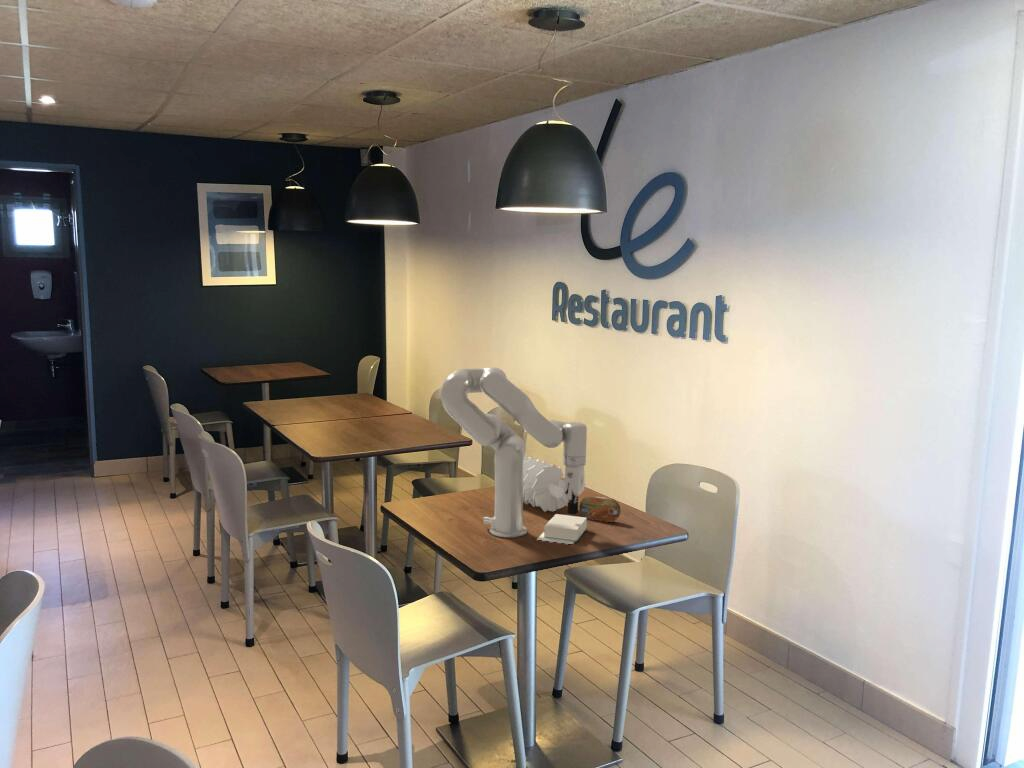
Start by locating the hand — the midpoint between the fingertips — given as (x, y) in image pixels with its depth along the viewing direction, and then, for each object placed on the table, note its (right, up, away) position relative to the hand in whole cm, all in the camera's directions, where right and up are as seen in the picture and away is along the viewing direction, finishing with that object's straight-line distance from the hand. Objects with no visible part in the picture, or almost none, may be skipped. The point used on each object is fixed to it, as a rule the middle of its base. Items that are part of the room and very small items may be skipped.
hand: (572, 513), depth 270 cm
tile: (+3, -5, 0) cm, 6 cm away
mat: (-3, -7, +2) cm, 8 cm away
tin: (+11, -6, +18) cm, 22 cm away
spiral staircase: (-11, -3, +34) cm, 36 cm away
